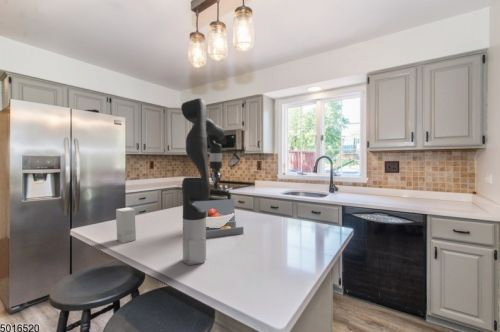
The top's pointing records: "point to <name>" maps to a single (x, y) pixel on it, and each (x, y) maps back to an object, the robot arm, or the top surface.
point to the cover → (218, 206)
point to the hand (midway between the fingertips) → (215, 188)
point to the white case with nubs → (224, 230)
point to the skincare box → (125, 224)
